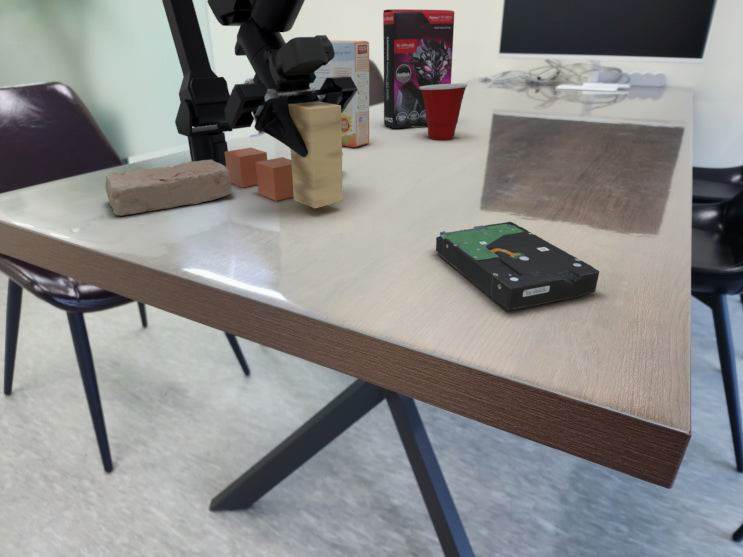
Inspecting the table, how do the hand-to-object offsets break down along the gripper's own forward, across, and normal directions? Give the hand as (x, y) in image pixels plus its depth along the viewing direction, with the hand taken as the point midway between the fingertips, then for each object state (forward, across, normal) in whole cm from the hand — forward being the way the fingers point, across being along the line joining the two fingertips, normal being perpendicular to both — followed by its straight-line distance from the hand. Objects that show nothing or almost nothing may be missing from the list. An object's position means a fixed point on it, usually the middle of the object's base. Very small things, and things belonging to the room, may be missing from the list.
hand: (322, 152), depth 68 cm
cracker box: (-19, +31, +32) cm, 48 cm away
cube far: (-9, 0, +21) cm, 22 cm away
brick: (-7, -14, +20) cm, 25 cm away
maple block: (+4, 0, +6) cm, 7 cm away
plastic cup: (-11, +53, +23) cm, 59 cm away
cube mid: (-2, 0, +14) cm, 14 cm away
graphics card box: (-22, +61, +34) cm, 73 cm away
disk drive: (+26, +3, -14) cm, 30 cm away
